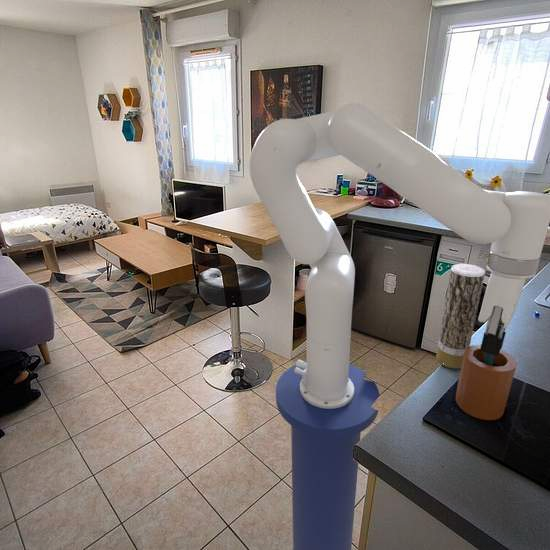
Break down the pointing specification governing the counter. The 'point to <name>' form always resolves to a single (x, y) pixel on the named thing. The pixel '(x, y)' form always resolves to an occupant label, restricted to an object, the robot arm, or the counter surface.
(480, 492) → the counter surface
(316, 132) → the robot arm
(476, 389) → the orange hollow cylinder
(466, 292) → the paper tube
